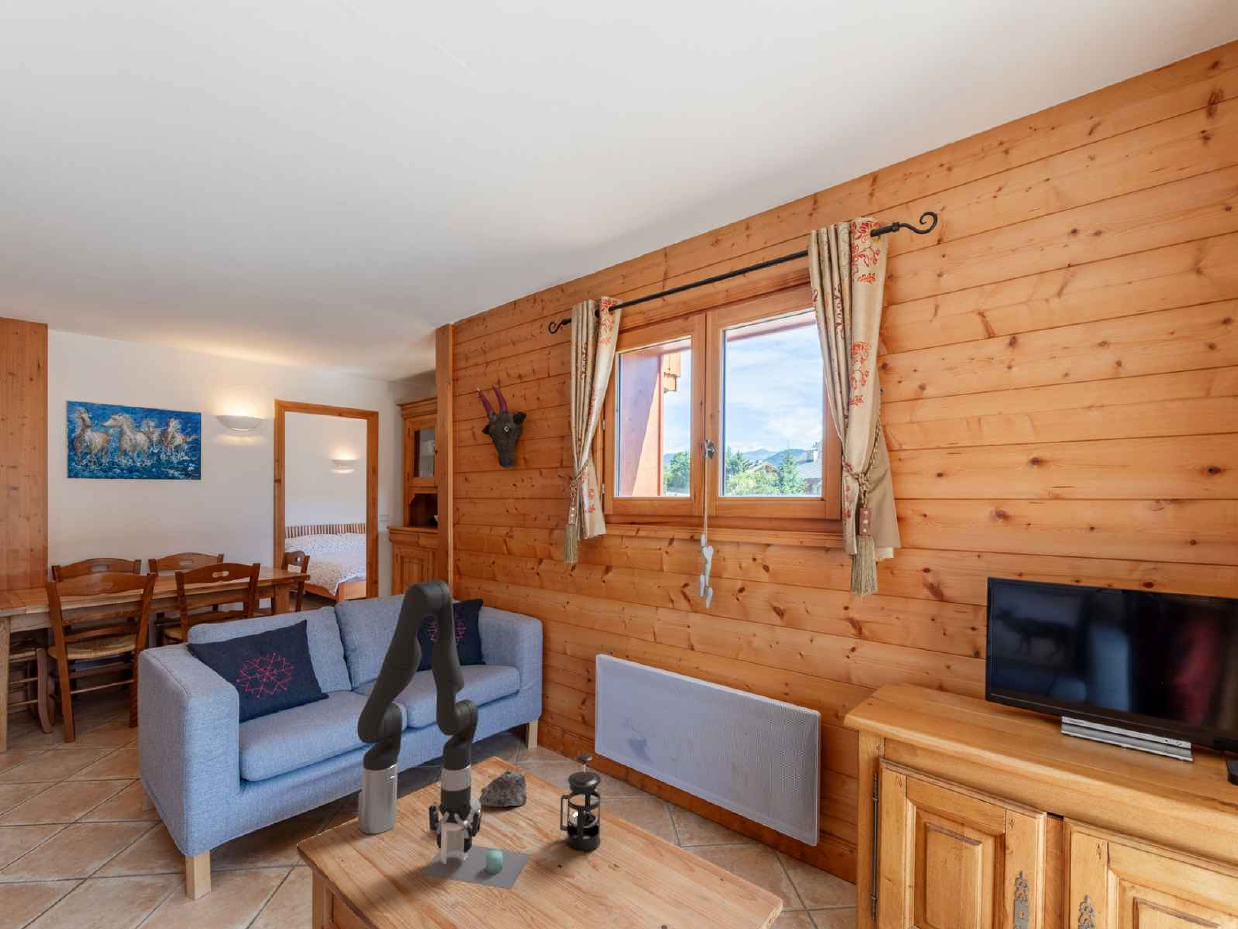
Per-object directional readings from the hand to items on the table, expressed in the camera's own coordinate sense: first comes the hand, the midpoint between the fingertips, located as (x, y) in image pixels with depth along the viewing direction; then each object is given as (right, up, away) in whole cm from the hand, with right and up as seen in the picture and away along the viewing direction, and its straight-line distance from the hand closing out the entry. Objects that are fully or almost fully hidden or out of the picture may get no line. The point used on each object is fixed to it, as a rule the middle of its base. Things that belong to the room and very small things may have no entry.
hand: (454, 848), depth 152 cm
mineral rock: (+7, -6, +30) cm, 31 cm away
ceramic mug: (-4, -5, +18) cm, 19 cm away
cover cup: (0, -2, 0) cm, 2 cm away
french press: (+32, -5, +10) cm, 34 cm away
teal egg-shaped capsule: (+11, -4, -3) cm, 12 cm away
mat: (+6, -4, 0) cm, 7 cm away
